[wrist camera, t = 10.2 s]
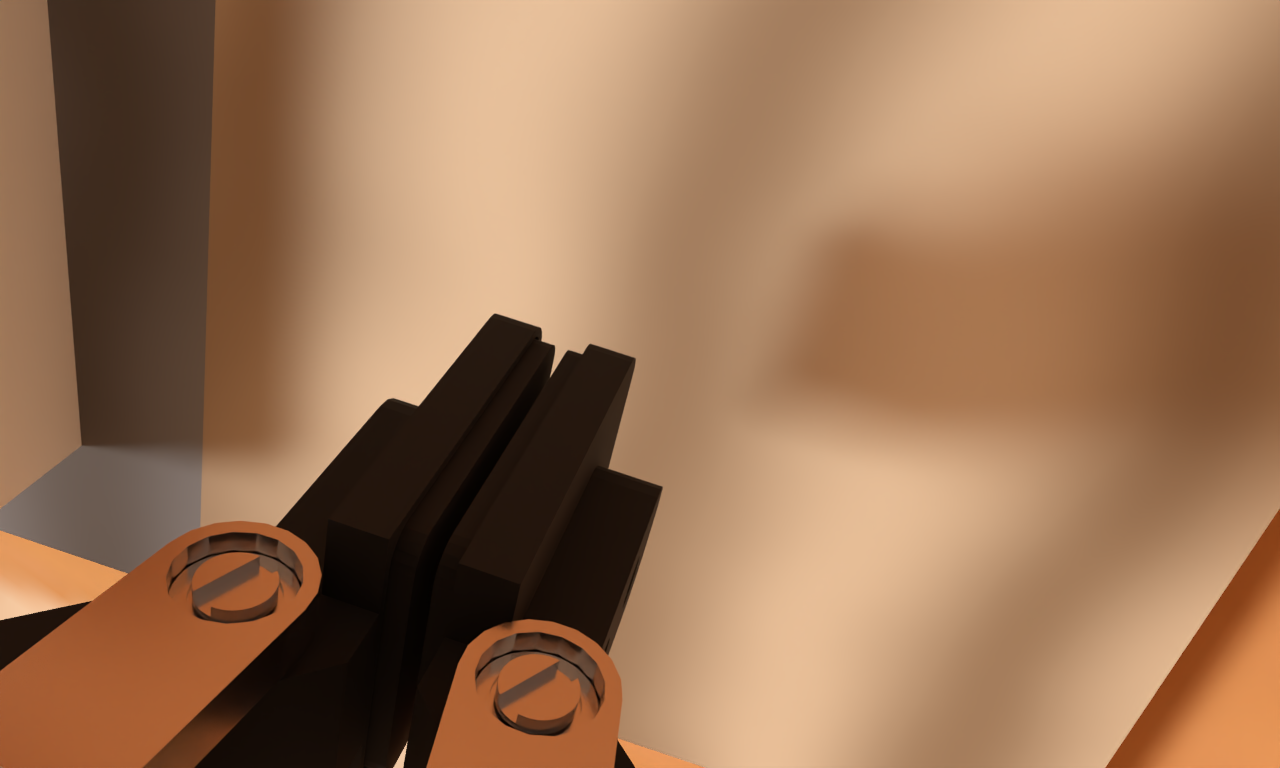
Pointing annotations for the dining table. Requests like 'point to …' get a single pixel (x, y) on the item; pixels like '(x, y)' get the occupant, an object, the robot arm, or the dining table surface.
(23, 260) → the carton
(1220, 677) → the dining table surface
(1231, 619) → the dining table surface
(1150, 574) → the beige flat board
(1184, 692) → the dining table surface
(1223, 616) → the dining table surface
